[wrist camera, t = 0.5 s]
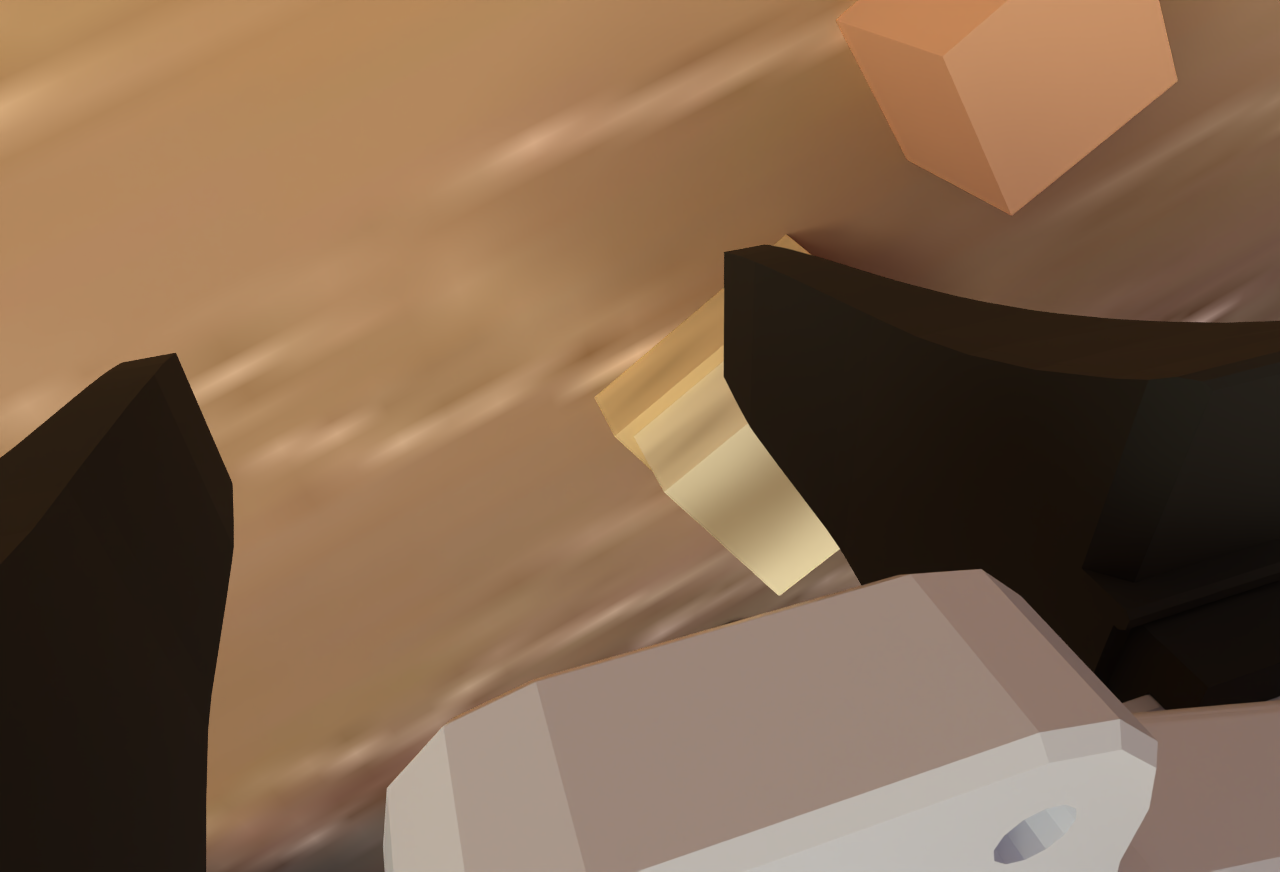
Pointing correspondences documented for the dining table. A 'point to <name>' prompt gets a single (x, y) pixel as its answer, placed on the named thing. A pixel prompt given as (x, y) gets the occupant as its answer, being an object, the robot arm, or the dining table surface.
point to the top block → (734, 484)
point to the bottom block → (668, 370)
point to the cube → (1008, 83)
